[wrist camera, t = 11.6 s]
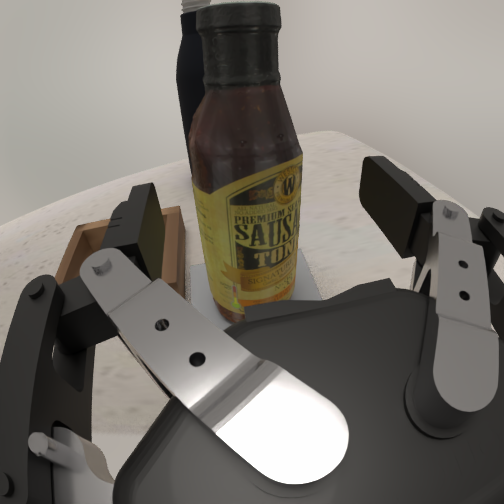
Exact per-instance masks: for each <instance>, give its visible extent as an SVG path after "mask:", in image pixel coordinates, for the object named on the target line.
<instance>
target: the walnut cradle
mask: <svg viewBox="0 0 504 504" xmlns="http://www.w3.org/2000/svg"><path fill="white" fill-rule="evenodd" d="M161 212H162V215H163V219H164V224H165V242H164V253H163V265H162V278H161V279H162V280H163V281H164V282H166V283H167V284H168V285H169V286H170V287H171V288H172V289H173V290H175V291H176V292H177V293H178V294H179V295H180V296H182V297H183V298H184V299H185V226H184V222H183V218H182V214H181V209H180V206H175V207H169V208H164V209H161ZM109 221H110V219H106V220H101V221H97V222H92V223H87V224H83V225H78V226H77V227H76V229H75V231H74V233H73V235H72V238H71V240H70V242H69V244H68V247H67V249H66V251H65V254H64V256H63V258H62V261H61V263H60V266H59V268H58V271H57V273H56V276H55V280H56V281H57V283H58V284H59V285H60V284H62V283H64V282H66V281H69V280H71V279H73V278H75V277H77V276H79V275H80V268H81V266H82V264H83V262H84V261H85V260H86V259H87V258H88V257H89V256H90V255H92V254H93V252H97V251H99V250H100V247H101V244H102V241H103V238H104V235H105V233H106V230H107V229H108V224H109Z"/></svg>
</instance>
